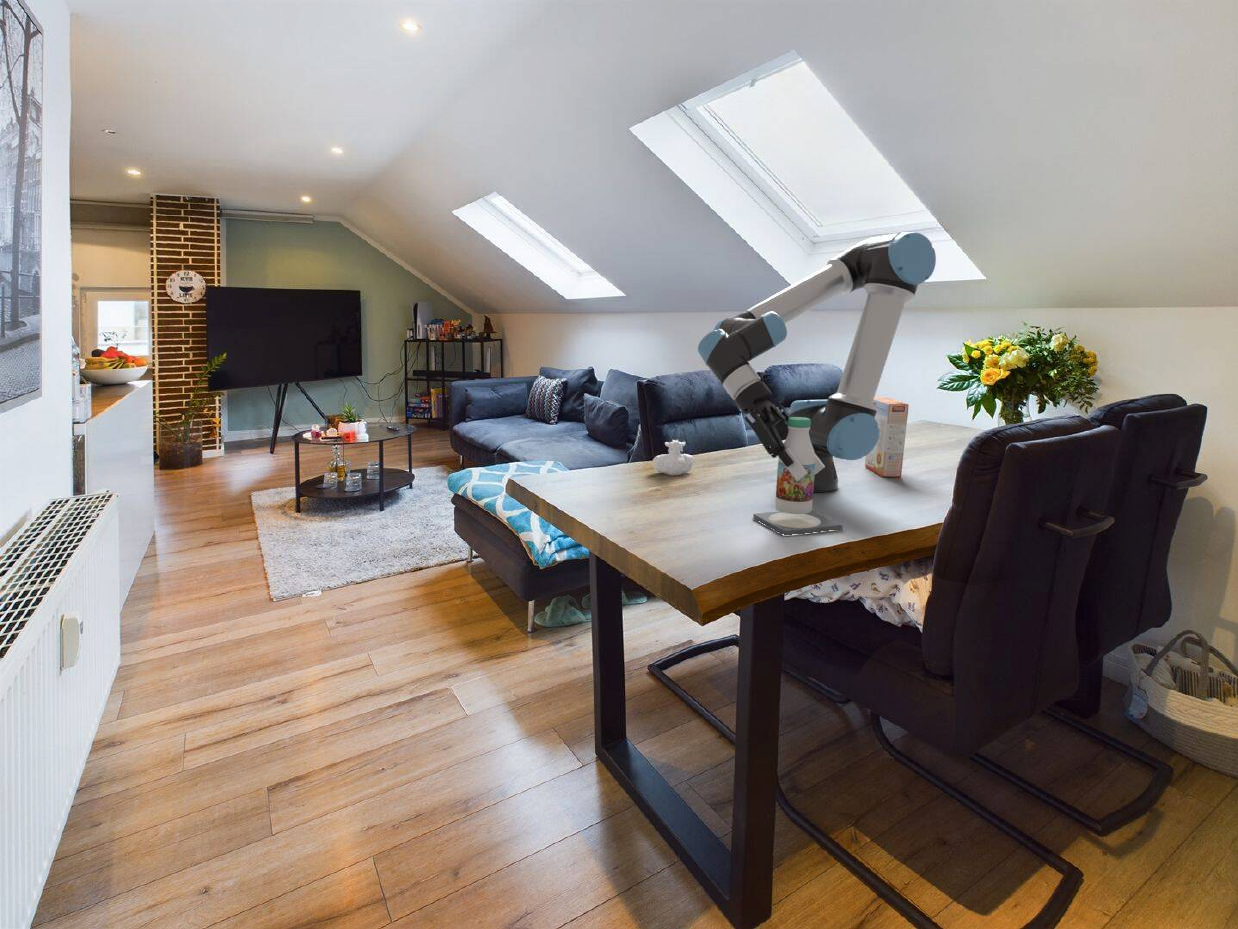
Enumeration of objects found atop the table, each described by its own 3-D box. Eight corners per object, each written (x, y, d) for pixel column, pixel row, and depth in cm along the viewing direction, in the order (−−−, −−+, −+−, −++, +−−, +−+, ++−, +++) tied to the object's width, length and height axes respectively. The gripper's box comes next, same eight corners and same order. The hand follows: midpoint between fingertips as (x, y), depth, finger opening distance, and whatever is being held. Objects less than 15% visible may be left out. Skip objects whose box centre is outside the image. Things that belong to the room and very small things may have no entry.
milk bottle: (770, 505, 150) (775, 415, 145) (804, 504, 150) (810, 415, 146) (781, 515, 142) (787, 421, 138) (817, 514, 143) (824, 420, 138)
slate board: (807, 513, 156) (807, 507, 156) (842, 530, 144) (842, 524, 144) (753, 518, 152) (753, 513, 151) (784, 536, 140) (785, 530, 139)
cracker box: (902, 477, 190) (910, 403, 185) (881, 477, 190) (887, 403, 185) (884, 466, 204) (890, 397, 199) (864, 466, 204) (870, 397, 199)
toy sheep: (653, 482, 193) (656, 456, 184) (650, 461, 198) (654, 436, 189) (694, 481, 194) (700, 456, 185) (691, 461, 199) (696, 435, 190)
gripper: (760, 397, 159) (819, 475, 152) (711, 405, 144) (775, 493, 137) (781, 376, 154) (844, 456, 147) (734, 382, 139) (801, 471, 132)
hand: (811, 473), depth 142 cm, fingers closed on milk bottle, 7 cm apart
